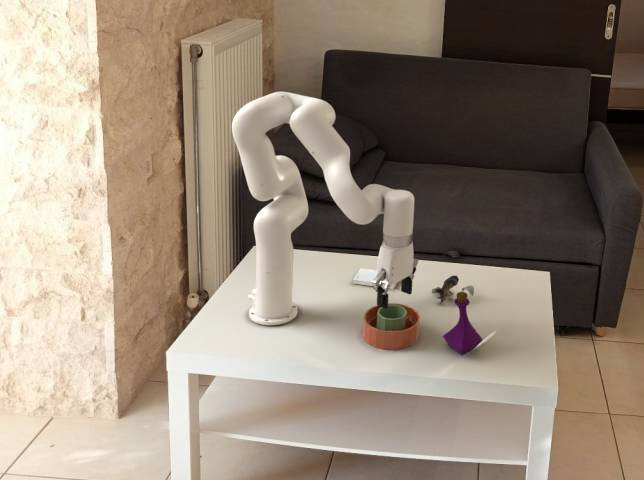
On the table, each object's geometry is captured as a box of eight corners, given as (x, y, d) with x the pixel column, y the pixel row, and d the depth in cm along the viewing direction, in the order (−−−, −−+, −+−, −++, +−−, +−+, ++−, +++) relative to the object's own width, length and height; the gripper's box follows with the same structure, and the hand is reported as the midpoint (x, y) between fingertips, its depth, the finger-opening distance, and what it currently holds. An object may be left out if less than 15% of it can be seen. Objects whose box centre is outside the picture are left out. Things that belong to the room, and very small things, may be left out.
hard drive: (352, 279, 217) (393, 284, 216) (361, 267, 225) (400, 272, 224) (352, 284, 218) (393, 289, 217) (360, 272, 226) (399, 277, 224)
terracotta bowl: (350, 337, 189) (351, 318, 188) (387, 315, 202) (388, 297, 201) (394, 358, 182) (395, 338, 181) (429, 334, 195) (430, 315, 193)
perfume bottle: (441, 347, 189) (446, 284, 185) (462, 338, 194) (468, 276, 190) (460, 360, 184) (466, 295, 180) (482, 351, 189) (488, 287, 185)
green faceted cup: (370, 335, 191) (371, 312, 189) (388, 323, 197) (390, 301, 196) (392, 345, 187) (394, 322, 185) (410, 333, 193) (412, 311, 192)
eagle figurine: (460, 303, 210) (464, 284, 218) (447, 285, 208) (452, 266, 216) (437, 312, 212) (442, 293, 220) (425, 294, 210) (430, 275, 218)
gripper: (407, 224, 195) (404, 283, 199) (363, 244, 181) (361, 307, 184) (429, 232, 191) (426, 291, 195) (386, 253, 177) (383, 317, 181)
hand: (394, 299), depth 190 cm, fingers open, 9 cm apart
